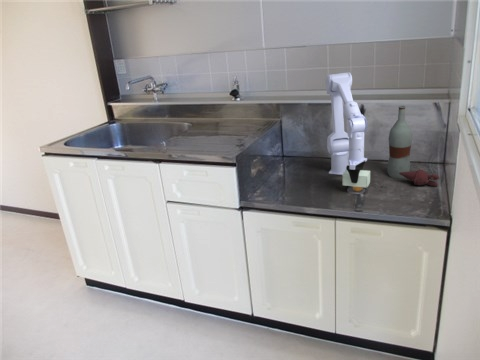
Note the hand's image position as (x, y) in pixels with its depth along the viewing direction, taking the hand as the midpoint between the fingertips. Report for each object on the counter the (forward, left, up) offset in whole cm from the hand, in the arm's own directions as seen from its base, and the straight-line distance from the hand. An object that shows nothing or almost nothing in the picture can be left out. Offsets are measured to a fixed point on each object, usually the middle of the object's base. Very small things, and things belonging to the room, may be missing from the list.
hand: (356, 179), depth 161 cm
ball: (0, +1, -3) cm, 3 cm away
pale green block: (0, 0, -2) cm, 2 cm away
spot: (0, 0, -5) cm, 5 cm away
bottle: (-20, +13, -5) cm, 25 cm away
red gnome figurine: (-12, +22, -5) cm, 26 cm away
